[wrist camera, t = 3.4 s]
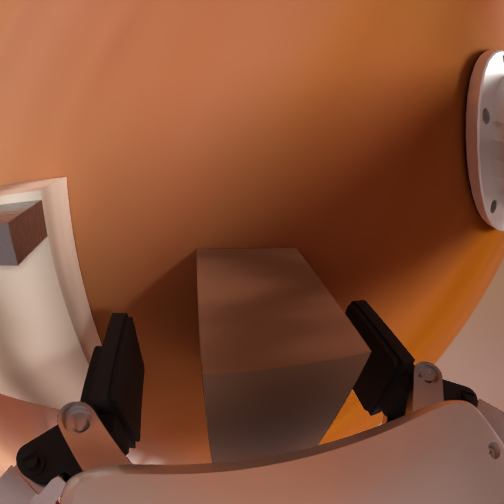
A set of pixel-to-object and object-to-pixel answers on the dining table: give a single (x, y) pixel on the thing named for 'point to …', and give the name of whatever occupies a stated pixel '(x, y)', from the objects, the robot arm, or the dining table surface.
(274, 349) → the brown block with stick
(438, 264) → the dining table surface
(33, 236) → the rail
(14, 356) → the board
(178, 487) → the robot arm
